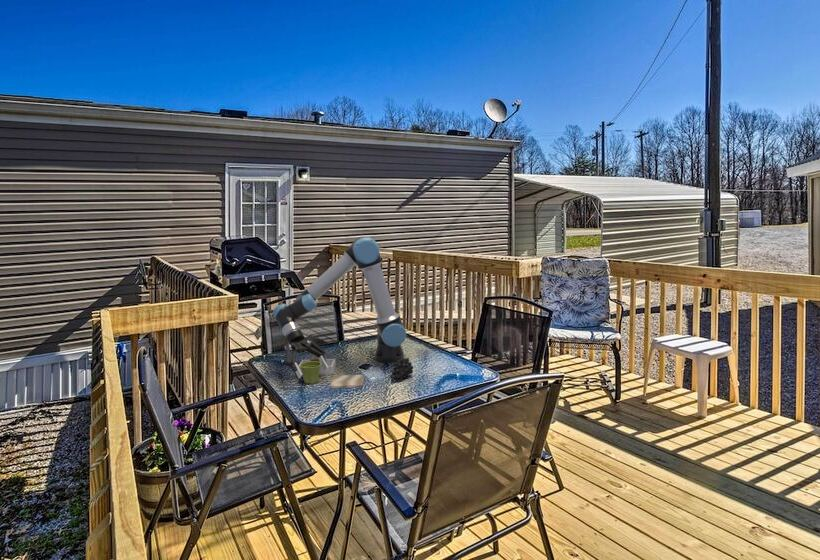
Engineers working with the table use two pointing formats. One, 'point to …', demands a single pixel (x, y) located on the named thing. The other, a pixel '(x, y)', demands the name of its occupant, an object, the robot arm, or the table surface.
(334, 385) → the ash board
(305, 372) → the plant pot
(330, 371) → the grey tray
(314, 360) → the walnut block
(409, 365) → the fruit
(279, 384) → the table surface
